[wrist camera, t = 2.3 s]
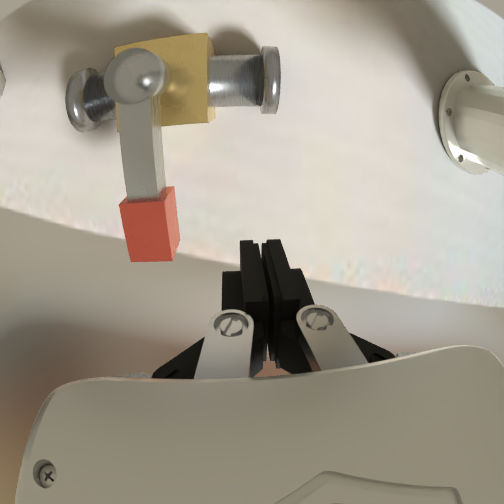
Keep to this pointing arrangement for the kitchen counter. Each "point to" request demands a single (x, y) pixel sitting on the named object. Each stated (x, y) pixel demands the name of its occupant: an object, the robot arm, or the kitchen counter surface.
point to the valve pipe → (185, 83)
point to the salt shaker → (2, 82)
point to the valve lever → (143, 154)
